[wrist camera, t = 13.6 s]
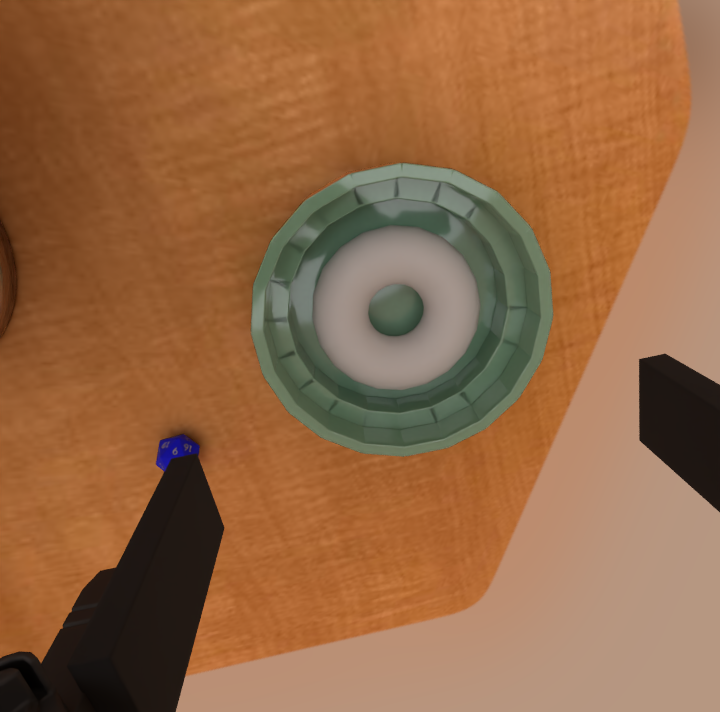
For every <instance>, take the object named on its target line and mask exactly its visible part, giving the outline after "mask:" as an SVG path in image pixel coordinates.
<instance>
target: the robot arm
mask: <svg viewBox="0 0 720 712" xmlns="http://www.w3.org/2000/svg"><path fill="white" fill-rule="evenodd" d="M15 296H16V269H15V263H14V258H13V253H12V250H11V246H10V243H9V240H8V237H7V235H6V232H5V230H4V227H3V225H2V223H1V221H0V337H1V335H2V334H3V332H4V330H5V328H6V327H7V325H8V322H9V320H10V317H11V315H12V311H13V307H14V303H15ZM639 409H640V412H639V414H640V415H639V419H640V420H639V422H640V424H639V425H640V426H639V427H640V441H641V442H642V443H643V444H644V445H645V446H646V447H647V448H649V449H650V450H651V451H652V452H653V453H654V454H655V455H656V456H657V457H659V458H660V459H661V460H662V461H663V462H664V463H665V464H666V465H668V466H669V467H670V468H671V469H672V470H673V471H674V472H675V473H676V474H678V475H679V476H680V477H681V478H682V479H683V480H684V481H685V482H687V483H688V484H689V485H690V486H691V487H692V488H693V489H694V490H695V491H697V492H698V493H699V494H700V495H701V496H702V497H703V498H705V499H706V500H707V501H708V502H709V503H710V504H711V505H712V506H713V507H715V508H716V509H717V510H718V511H719V512H720V385H719V384H717V383H715V382H714V381H712V380H710V379H708V378H707V377H705V376H703V375H701V374H700V373H698V372H696V371H695V370H693V369H691V368H689V367H688V366H686V365H684V364H682V363H680V362H679V361H677V360H675V359H674V358H672V357H670V356H668V355H667V354H662V355H657V356H652V357H648V358H643V359H639ZM223 531H224V525H223V523H222V520H221V517H220V515H219V512H218V509H217V506H216V504H215V501H214V498H213V496H212V493H211V490H210V487H209V485H208V482H207V479H206V477H205V474H204V471H203V469H202V466H201V463H200V460H199V458H198V455H197V453H195V454H190V455H186V456H181V457H176V458H172V459H171V460H170V462H169V464H168V466H167V468H166V470H165V472H164V474H163V476H162V478H161V480H160V482H159V484H158V486H157V488H156V490H155V492H154V494H153V496H152V498H151V500H150V502H149V504H148V506H147V508H146V510H145V512H144V514H143V516H142V518H141V520H140V522H139V523H138V525H137V527H136V529H135V531H134V533H133V535H132V537H131V539H130V541H129V543H128V545H127V547H126V549H125V551H124V553H123V555H122V557H121V559H120V561H119V563H118V565H117V567H116V568H112V569H107V570H102V571H100V572H99V573H98V574H97V575H96V576H95V577H94V578H93V579H92V580H91V581H90V582H89V583H88V584H87V585H86V586H85V587H84V588H83V590H82V591H81V593H80V595H79V597H78V599H77V600H76V602H75V604H74V606H73V608H72V612H71V613H69V615H68V617H67V618H66V620H65V622H64V624H63V629H60V631H59V633H58V634H57V636H56V638H55V640H54V642H53V643H52V645H51V647H50V649H49V651H48V652H47V654H46V656H45V658H44V660H43V661H42V663H40V662H39V660H38V658H37V657H36V656H35V655H33V654H32V653H31V652H16V653H13V654H10V655H6V656H4V657H2V658H0V712H176V708H177V704H178V701H179V697H180V693H181V689H182V686H183V682H184V678H185V674H186V671H187V667H188V663H189V659H190V656H191V652H192V648H193V644H194V641H195V637H196V633H197V629H198V626H199V622H200V618H201V614H202V610H203V607H204V603H205V599H206V595H207V592H208V588H209V584H210V580H211V577H212V573H213V569H214V565H215V562H216V558H217V554H218V550H219V547H220V543H221V539H222V535H223Z"/></svg>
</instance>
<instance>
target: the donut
mask: <svg viewBox="0 0 720 712" xmlns="http://www.w3.org/2000/svg"><path fill="white" fill-rule="evenodd" d="M394 284H402V285H407V286H409V287H412V288H413V289H414V290H415V291H416V292H418V294H419V295H420V297H421V299H422V301H423V306H424V310H423V316H422V318H421V320H420V322H419V324H418V325H417V326H416V327H415V328H414V329H413V330H411V331H410V332H408V333H406V334H404V335H400V336H387V335H385V334H382V333H380V332H378V331H377V330H376V329H375V328H374V327H373V325H372V324H371V322H370V319H369V315H368V311H369V304H370V302H371V299H372V298H373V297H374V296H375V294H376V293H377V292H378V291H380V290H381V289H383V288H384V287H386V286H390V285H394ZM480 306H481V305H480V299H479V293H478V287H477V281H476V278H475V276H474V274H473V273H472V271H471V269H470V267H469V265H468V263H467V262H466V260H465V258H464V256H463V255H462V254H461V253H460V252H459V251H458V250H457V249H456V248H455V247H453V246H452V245H451V244H450V243H449V242H448V241H447V240H446V239H444V238H443V237H441V236H439V235H436V234H434V233H432V232H429V231H427V230H424V229H422V228H420V227H411V226H396V225H389V226H385V227H382V228H378V229H374V230H370V231H366V232H363V233H361V234H360V235H358V236H357V237H355V238H354V239H352V240H351V241H349V242H348V243H346V244H344V245H343V246H341V247H340V248H339V249H338V250H337V252H336V253H335V254H334V255H333V257H332V258H331V259H330V260H329V262H328V263H327V264H326V265H325V266H324V268H323V269H322V272H321V275H320V277H319V280H318V282H317V285H316V288H315V290H314V293H313V313H312V320H313V324H314V327H315V330H316V334H317V337H318V341H319V344H320V346H321V347H322V349H323V350H324V352H325V353H326V355H327V356H328V357H329V359H330V360H331V362H332V363H333V365H334V366H335V367H337V368H338V369H339V370H341V371H342V372H343V373H345V374H346V375H347V376H349V377H350V378H351V379H353V380H354V381H356V382H359V383H362V384H365V385H368V386H371V387H373V388H376V389H392V390H404V389H408V388H412V387H416V386H420V385H424V384H427V383H429V382H431V381H432V380H434V379H436V378H437V377H439V376H441V375H443V374H444V373H446V372H448V371H449V370H450V369H451V368H452V367H453V366H454V364H455V363H456V362H457V361H458V360H459V359H460V358H461V357H462V356H463V355H464V354H465V353H466V351H467V349H468V347H469V345H470V343H471V341H472V339H473V337H474V335H475V333H476V331H477V325H478V319H479V312H480Z"/></svg>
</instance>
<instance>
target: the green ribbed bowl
mask: <svg viewBox="0 0 720 712" xmlns="http://www.w3.org/2000/svg"><path fill="white" fill-rule="evenodd" d="M389 225H396V226H411V227H420V228H422V229H424V230H427V231H429V232H432V233H434V234H436V235H439V236H441V237H443V238H444V239H446V240H447V241H448V242H449V243H450V244H451V245H452V246H453V247H455V248H456V249H457V250H458V251H459V252H460V253H461V254H462V255H463V256H464V258H465V260H466V262H467V263H468V265H469V267H470V269H471V271H472V273H473V274H474V276H475V278H476V281H477V287H478V293H479V299H480V305H481V306H480V312H479V319H478V325H477V331H476V333H475V335H474V337H473V339H472V341H471V343H470V345H469V347H468V349H467V351H466V353H465V354H464V355H463V356H462V357H461V358H460V359H459V360H458V361H457V362H456V363H455V364H454V366H453V367H452V368H451V369H450V370H449V371H448V372H446V373H444V374H443V375H441V376H439V377H437V378H436V379H434V380H432V381H431V382H429V383H427V384H424V385H420V386H416V387H412V388H408V389H404V390H392V389H376V388H373V387H371V386H368V385H365V384H362V383H359V382H356V381H354V380H353V379H351V378H350V377H349V376H347V375H346V374H345V373H343V372H342V371H341V370H339V369H338V368H337V367H335V366H334V365H333V363H332V362H331V360H330V359H329V357H328V356H327V355H326V353H325V352H324V350H323V349H322V347H321V346H320V344H319V341H318V337H317V334H316V330H315V327H314V324H313V320H312V313H313V293H314V290H315V288H316V285H317V282H318V280H319V277H320V275H321V272H322V269H323V268H324V266H325V265H326V264H327V263H328V262H329V260H330V259H331V258H332V257H333V255H334V254H335V253H336V252H337V250H338V249H339V248H340V247H341V246H343V245H344V244H346V243H348V242H349V241H351V240H352V239H354V238H355V237H357V236H358V235H360V234H361V233H363V232H366V231H370V230H374V229H378V228H382V227H385V226H389ZM423 310H424V306H423V301H422V299H421V297H420V295H419V294H418V292H416V291H415V290H414V289H413V288H412V287H409V286H407V285H402V284H394V285H390V286H386V287H384V288H383V289H381V290H380V291H378V292H377V293H376V294H375V296H374V297H373V298H372V299H371V302H370V304H369V311H368V315H369V319H370V322H371V324H372V325H373V327H374V328H375V329H376V330H377V331H378V332H380V333H382V334H385V335H387V336H400V335H404V334H406V333H408V332H410V331H411V330H413V329H414V328H415V327H416V326H417V325H418V324H419V322H420V320H421V318H422V316H423ZM552 320H553V305H552V290H551V275H550V269H549V267H548V265H547V262H546V260H545V258H544V255H543V253H542V251H541V248H540V246H539V244H538V241H537V239H536V237H535V234H534V232H533V230H532V228H531V227H530V225H529V224H528V223H527V222H526V221H525V220H524V219H523V218H522V217H521V216H520V215H519V213H518V212H517V211H516V210H515V209H514V208H513V207H512V206H511V205H510V204H509V203H508V202H507V201H506V200H505V198H504V197H503V196H502V195H501V194H500V193H498V191H496V190H494V189H492V188H490V187H488V186H486V185H484V184H482V183H480V182H478V181H476V180H474V179H472V178H470V177H468V176H466V175H464V174H462V173H460V172H458V171H456V170H454V169H450V168H442V167H434V166H426V165H418V164H411V163H388V164H383V165H378V166H374V167H369V168H364V169H359V170H355V171H350V172H348V173H345V174H343V175H342V176H340V177H338V178H337V179H335V180H333V181H332V182H330V183H328V184H327V185H325V186H323V187H322V188H320V189H318V190H317V191H315V192H313V193H311V194H310V195H309V196H307V197H306V199H305V200H304V201H303V202H302V203H301V204H300V206H299V207H298V208H297V209H296V210H295V212H294V213H293V214H292V215H291V216H290V217H289V219H288V220H287V221H286V222H285V223H284V224H283V226H282V227H281V228H280V229H279V230H278V232H277V233H276V234H275V235H274V237H273V238H272V240H271V241H270V244H269V246H268V249H267V251H266V254H265V256H264V259H263V261H262V264H261V266H260V269H259V271H258V274H257V276H256V279H255V281H254V284H253V294H252V314H251V336H252V339H253V343H254V346H255V350H256V353H257V357H258V360H259V363H260V367H261V370H262V374H263V376H264V378H265V379H266V381H267V382H268V384H269V385H270V387H271V388H272V390H273V391H274V392H275V394H276V395H277V397H278V398H279V400H280V401H281V403H282V404H283V405H284V407H285V408H286V410H287V411H288V412H289V413H290V414H291V415H292V416H294V417H295V418H296V419H298V420H299V421H300V422H301V423H303V424H304V425H305V426H307V427H308V428H309V429H310V430H312V431H313V432H314V433H316V434H317V435H318V436H320V437H321V438H323V439H326V440H328V441H331V442H333V443H336V444H339V445H341V446H344V447H347V448H349V449H352V450H355V451H357V452H360V453H364V454H377V455H390V456H403V457H404V456H410V455H415V454H420V453H425V452H430V451H435V450H440V449H445V448H449V447H451V446H453V445H455V444H457V443H459V442H461V441H463V440H465V439H467V438H469V437H471V436H473V435H475V434H476V433H478V432H480V431H482V430H484V429H486V428H487V427H488V426H489V425H491V424H492V423H493V422H494V421H495V420H496V419H497V418H498V417H499V416H500V415H501V414H503V413H504V412H505V411H506V410H507V409H508V408H509V407H510V406H511V405H512V404H514V403H515V402H516V401H517V400H518V398H519V397H520V396H521V394H522V393H523V391H524V389H525V388H526V386H527V384H528V383H529V381H530V379H531V378H532V376H533V375H534V373H535V371H536V370H537V368H538V366H539V365H540V363H541V360H542V359H543V355H544V351H545V347H546V343H547V339H548V335H549V332H550V328H551V324H552Z"/></svg>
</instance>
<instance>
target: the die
mask: <svg viewBox="0 0 720 712" xmlns="http://www.w3.org/2000/svg"><path fill="white" fill-rule="evenodd" d="M199 448H200V446H199V445H198V444H197V443H195V442H194V441H193V440H191V439H190V438H189V437H187V436H186V435H184V434H182V435H178V436H175V437H171V438H167V439H163V440H161V441H160V443H159V449H158V455H157V461H156V465H157V466H158V467H160V468H161V469H162V470H163V471H164V472H165V470H166V468H167V466H168V464H169V462H170V460H171V459H172V458H176V457H181V456H186V455H190V454H195V453H197V455H198V454H199Z"/></svg>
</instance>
